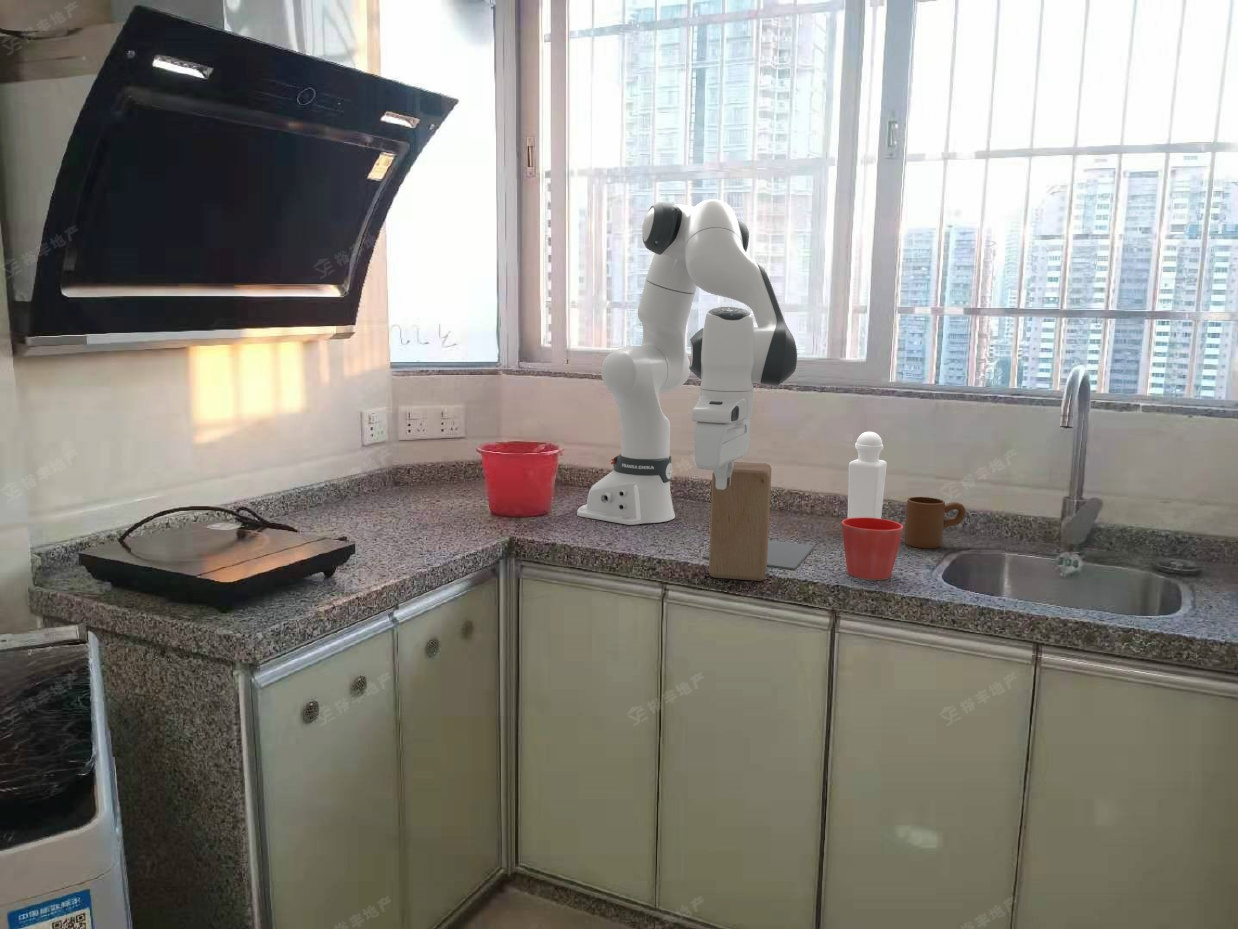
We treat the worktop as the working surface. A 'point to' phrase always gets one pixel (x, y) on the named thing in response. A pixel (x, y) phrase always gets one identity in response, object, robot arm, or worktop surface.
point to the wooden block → (741, 523)
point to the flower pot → (871, 546)
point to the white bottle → (867, 478)
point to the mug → (929, 521)
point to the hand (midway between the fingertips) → (722, 487)
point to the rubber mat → (784, 554)
